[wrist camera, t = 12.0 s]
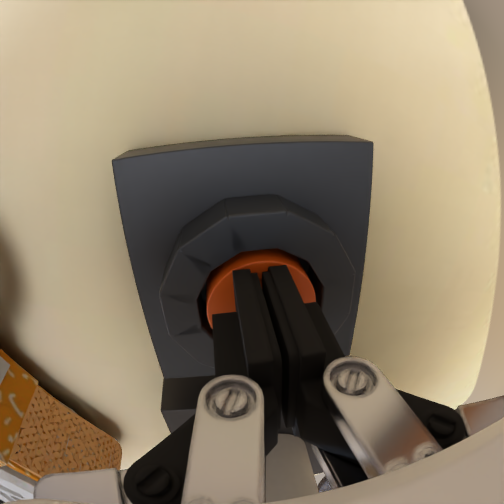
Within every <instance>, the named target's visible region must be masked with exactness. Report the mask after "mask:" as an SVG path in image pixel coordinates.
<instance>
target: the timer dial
mask: <svg viewBox="0 0 504 504" xmlns="http://www.w3.org/2000/svg"><path fill="white" fill-rule="evenodd" d="M317 493H319V491H318V487H317V484H316V481H315V477H314V473H313V470H312V466H311V463H310V459H309V456H308V452H307V449H306V445H305V443H304V441H303V440H302V439H301V438H299V437H294V435H290V434H278V443H277V445H276V446H275V447H274V448H273V449H272V450H271V452H270V453H269V454H268V455H267V456H266V503H269V502H275V501H282V500H287V499H293V498H298V497H303V496H308V495H313V494H317Z"/></svg>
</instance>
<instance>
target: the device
mask: <svg viewBox="0 0 504 504" xmlns="http://www.w3.org/2000/svg"><path fill="white" fill-rule="evenodd" d="M38 382H39V381H38V380H36V379H35V378H34V377H33V376H31V375H30V374H29V373H28V372H27V371H25V370H24V369H23V368H22V367H21V366H20V365H18V364H17V363H16V362H15V361H14V360H13V359H11V358H10V357H9V356H8V355H7V354H6V353H5V352H4V351H3V350H2V349H1V348H0V504H3V503H6V502H11V501H17V500H26V499H33V492H34V486H35V485H36V483H37V481H38V480H39V479H40V478H42V477H43V476H44V475H48V474H52V473H69V472H81V471H92V470H101V469H109V468H116V469H117V470H118V471H119V470H120V465H121V458H122V449H121V446H120V444H119V443H118V442H117V441H116V439H115V438H113V437H111V436H110V435H108V434H107V433H106V432H104V431H102V430H100V429H99V428H97V427H95V426H94V425H92V424H91V423H89V422H88V421H86V420H85V419H83V418H82V417H80V416H79V415H78V414H76V412H75V411H74V410H72V409H70V408H69V407H67V406H66V405H64V404H63V403H61V402H60V401H58V400H57V399H55V398H54V397H53V396H52V395H50V394H49V393H48V392H46V391H45V390H44V389H43V388H41V387H40V386H39V385H38Z"/></svg>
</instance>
